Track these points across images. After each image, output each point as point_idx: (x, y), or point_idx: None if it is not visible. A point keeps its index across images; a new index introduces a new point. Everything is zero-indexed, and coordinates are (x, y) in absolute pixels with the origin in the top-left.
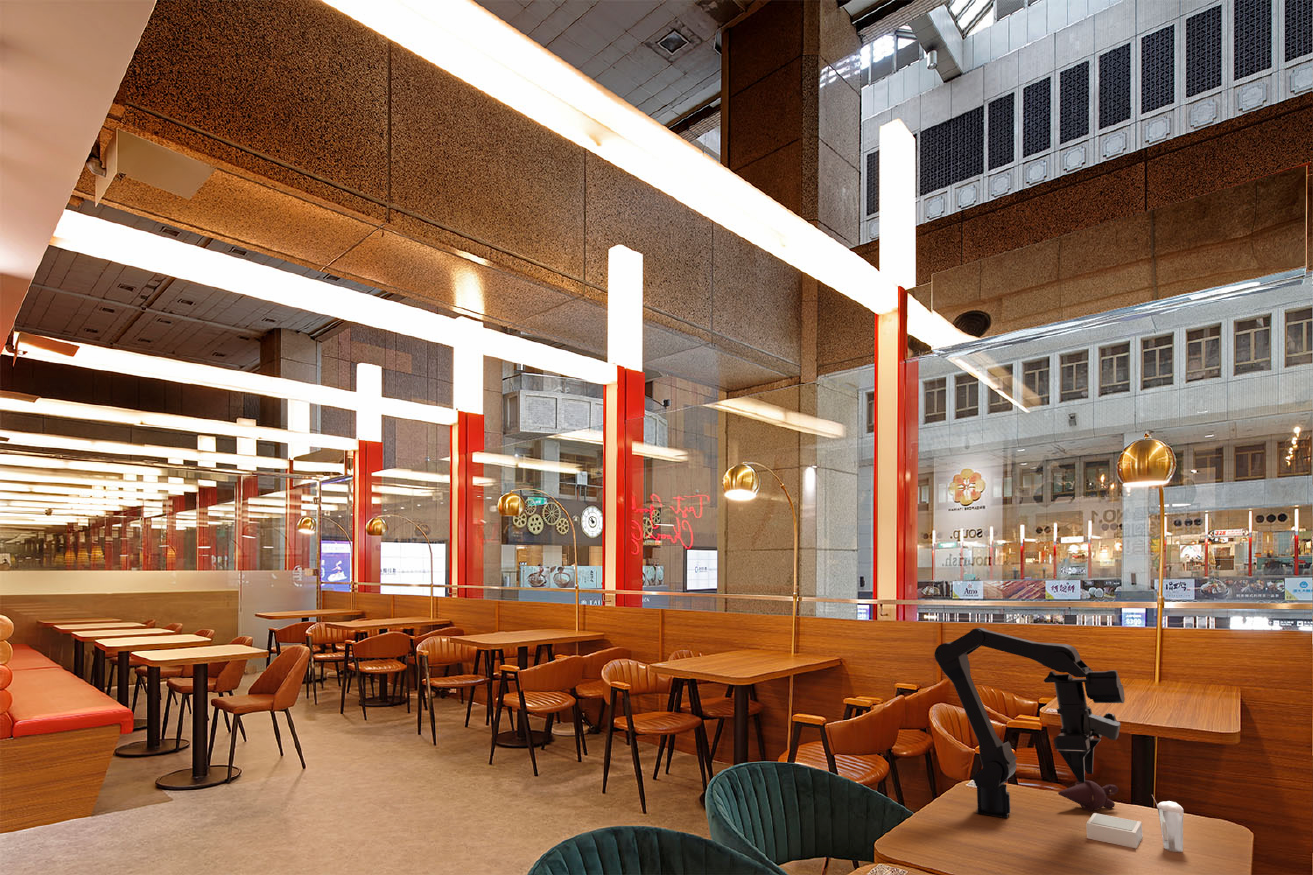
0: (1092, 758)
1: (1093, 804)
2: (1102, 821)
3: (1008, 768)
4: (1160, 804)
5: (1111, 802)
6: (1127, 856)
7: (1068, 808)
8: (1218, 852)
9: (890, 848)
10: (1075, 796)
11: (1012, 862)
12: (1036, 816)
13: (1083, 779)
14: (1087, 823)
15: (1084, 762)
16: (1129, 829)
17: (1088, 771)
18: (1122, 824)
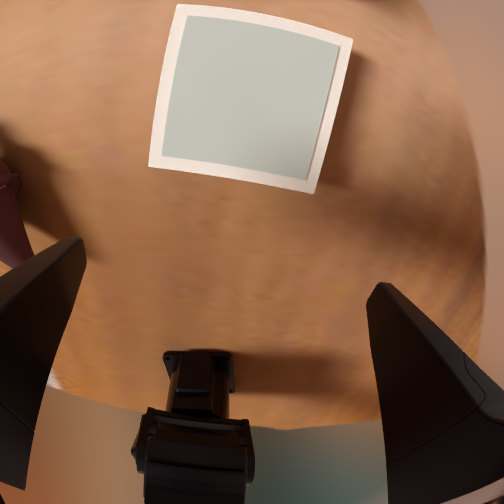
0: (14, 301)
1: (13, 180)
2: (270, 136)
3: (242, 460)
4: None
5: None
6: (416, 92)
7: (33, 234)
8: None
9: None
10: (22, 235)
11: (478, 307)
12: (160, 302)
13: (401, 296)
14: (313, 189)
15: (459, 377)
16: (329, 51)
17: (79, 264)
18: (272, 66)
